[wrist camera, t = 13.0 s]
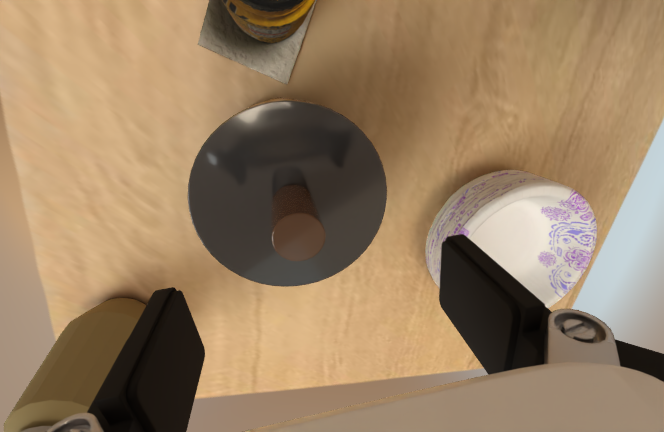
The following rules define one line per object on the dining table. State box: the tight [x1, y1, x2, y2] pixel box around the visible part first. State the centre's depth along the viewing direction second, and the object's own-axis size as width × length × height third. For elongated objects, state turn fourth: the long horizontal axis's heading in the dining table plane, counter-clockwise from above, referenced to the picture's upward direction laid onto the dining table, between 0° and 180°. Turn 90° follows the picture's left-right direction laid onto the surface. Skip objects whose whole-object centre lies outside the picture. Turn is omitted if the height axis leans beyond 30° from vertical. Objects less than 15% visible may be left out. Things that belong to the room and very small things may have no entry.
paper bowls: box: [425, 170, 597, 308], centre depth 33 cm, size 15×15×8 cm
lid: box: [188, 100, 387, 286], centre depth 19 cm, size 13×13×6 cm
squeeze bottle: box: [4, 298, 147, 432], centre depth 25 cm, size 8×8×18 cm
